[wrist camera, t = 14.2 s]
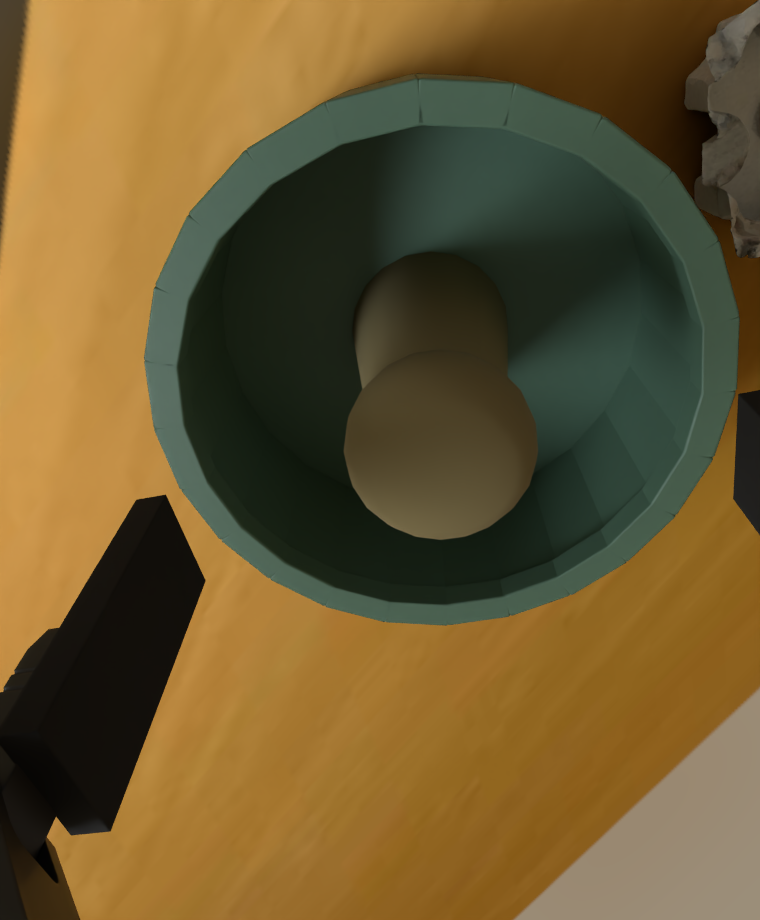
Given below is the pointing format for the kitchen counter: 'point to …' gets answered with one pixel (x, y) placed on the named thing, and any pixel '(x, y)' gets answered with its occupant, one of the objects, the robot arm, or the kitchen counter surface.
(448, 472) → the cork
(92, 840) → the kitchen counter surface
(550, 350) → the green round bowl
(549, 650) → the kitchen counter surface
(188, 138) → the kitchen counter surface
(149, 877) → the kitchen counter surface
